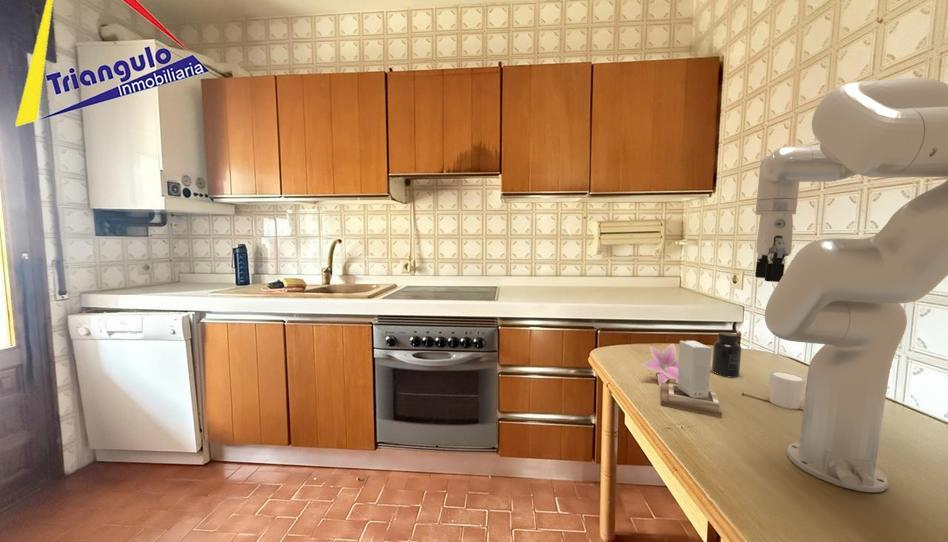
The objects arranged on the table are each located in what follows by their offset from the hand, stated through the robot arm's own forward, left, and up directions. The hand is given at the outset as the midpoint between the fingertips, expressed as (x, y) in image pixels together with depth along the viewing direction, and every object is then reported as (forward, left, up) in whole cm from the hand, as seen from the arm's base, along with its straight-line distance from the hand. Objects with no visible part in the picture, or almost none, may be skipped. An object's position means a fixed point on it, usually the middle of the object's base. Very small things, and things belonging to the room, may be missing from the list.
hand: (768, 279), depth 89 cm
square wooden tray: (-10, +15, -30) cm, 35 cm away
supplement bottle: (+18, +4, -31) cm, 36 cm away
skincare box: (-11, +15, -28) cm, 33 cm away
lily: (+1, +20, -31) cm, 37 cm away
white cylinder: (+1, -6, -31) cm, 31 cm away
